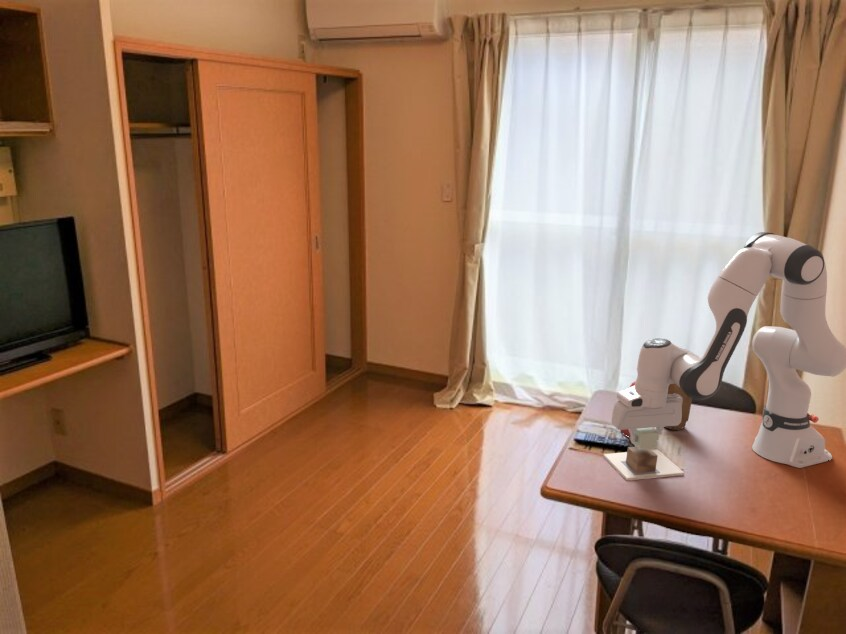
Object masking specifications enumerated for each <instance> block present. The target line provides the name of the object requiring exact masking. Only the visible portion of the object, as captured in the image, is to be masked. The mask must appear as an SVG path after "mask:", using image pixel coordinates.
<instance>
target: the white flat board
mask: <svg viewBox="0 0 846 634" xmlns="http://www.w3.org/2000/svg"><path fill="white" fill-rule="evenodd" d="M651 450H652V451H653V452H654V453H655V454H657V455H658V456H657V463H656V470H655V471H651V472H641V473H636V472H635V471H634V470H633V469H632V468H631V467H630V466H629V465H628V464H627V463H626V457H627V451H625V452H613V453H603V455H602V456H603V459H605V460H606V461H607V463H609V464H610V466H612V468H614V469H615V471H617V472H618V473H619V475H621V477H623V478H624V480H625V481H627V482H628V481H637V480H638V481H639V480H647V479H656V478H658V479H659V478H666V477H669V478H670V477H675V476H677V477H678V476H684V475H685V472H684V471H683V470H682V469H681V468H680V467H678V466H677V465H676V464H675V463H674V462H673V461H672V460H670V459H669V457H667V456H666V455H665V454H663V453H662V452H661V451H660V450H659V449H657V448H656V449H651Z"/></svg>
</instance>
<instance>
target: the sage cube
mask: <svg viewBox="0 0 846 634" xmlns="http://www.w3.org/2000/svg"><path fill="white" fill-rule="evenodd" d="M653 428H654V427H651V428H638V429H636V432H634V433H635V434H636V435H637V436H638V442H632V441H631V440H630V443H631V444H633V445H634V447H637V448H638V449H639V450H646V449H651V450H657V443H658V440H657V437H658V432H657V431H656V430H654V429H655V428H654V429H653Z"/></svg>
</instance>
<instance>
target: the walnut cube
mask: <svg viewBox="0 0 846 634" xmlns="http://www.w3.org/2000/svg"><path fill="white" fill-rule="evenodd" d="M652 450H653V449H646V450H639V449H638V448H637V447H636V446H628V447H627V451H626V452H627V457H626V463H627V464H628V465H629V466H630V467H631V468H632V469H633V470H634V471H635V472H636V473H641V472H651V471H655V470H656V463H657V456H658V455H657V454H655V453H654V452H653V451H652Z"/></svg>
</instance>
